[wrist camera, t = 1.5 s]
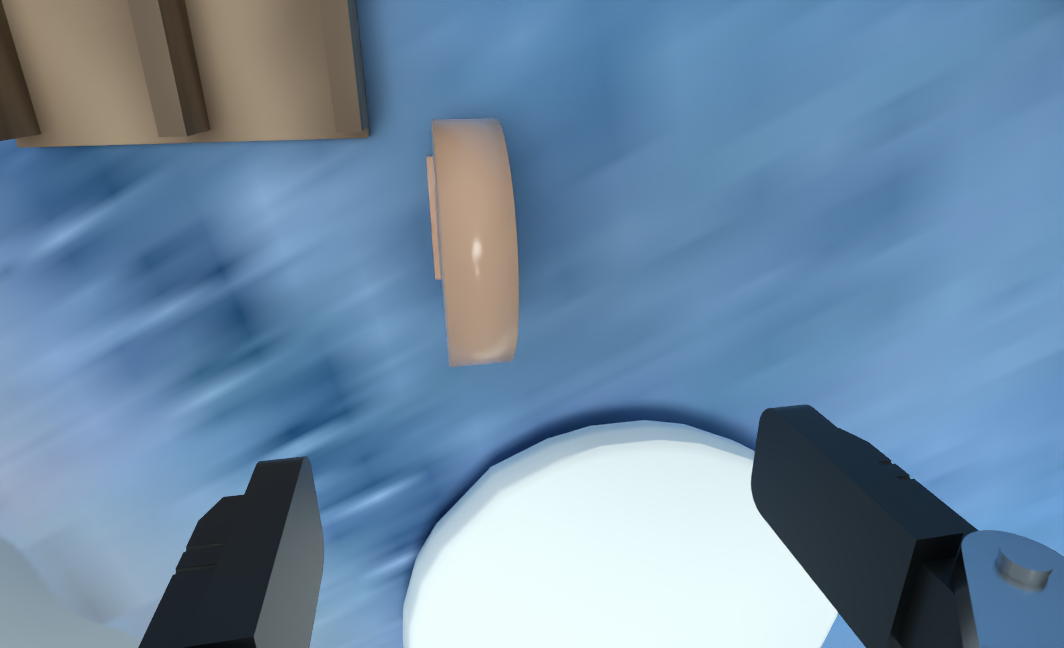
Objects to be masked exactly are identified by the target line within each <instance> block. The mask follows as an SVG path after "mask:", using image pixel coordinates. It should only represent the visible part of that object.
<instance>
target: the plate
mask: <svg viewBox="0 0 1064 648" xmlns="http://www.w3.org/2000/svg"><path fill="white" fill-rule="evenodd" d="M754 454H755V451H753V450H751V449H749V448H747V447H745V446H743V445H741V444H739V443H737V442H735V441H733V440H731V439H728V438H725V437H722V436H719V435H715V434H712V433H709V432H706V431H703V430H700V429H697V428H694V427H691V426H688V425H685V424H680V423H669V422H659V421H649V420H640V421H630V422H621V423H612V424H603V425H593V426H588V427H585V428H581V429H578V430H574V431H571V432H568V433H564V434H561V435H558V436H554V437H551V438H547V439H545V440H543V441H541V442H539V443H537V444H535V445H533V446H531V447H529V448H527V449H525V450H523V451H521V452H519V453H517V454H515V455H513V456H511V457H509V458H507V459H505V460H503V461H501V462H499V463H497V464H495V465H493V466H491V467H490V468H489V469H488V470H487V472H486V473H485V474H484V475H483V476H482V477H481V478H480V479H479V480H478V481H477V482H476V483H475V484H474V485H473V486H472V487H471V488H470V489H469V490H468V491H467V492H466V493H465V494H464V495H463V496H462V497H461V499H460V500H459V501H458V502H457V503H456V504H455V505H454V506H453V507H452V508H451V509H450V510H449V511H448V512H447V513H446V514H445V515H444V516H443V517H442V518H441V519H440V520H439V521H438V522H437V523H436V525H435V526H434V528H433V530H432V531H431V533H430V535H429V537H428V538H427V540H426V542H425V543H424V545H423V547H422V548H421V550H420V552H419V553H418V555H417V558H416V561H415V564H414V568H413V572H412V575H411V579H410V583H409V586H408V590H407V594H406V597H405V601H404V605H403V645H404V648H820V647H821V646H822V644H823V642H824V640H825V638H826V636H827V634H828V632H829V630H830V628H831V626H832V624H833V623H834V621H835V619H836V616H837V613H838V612H837V610H836V609H835V608H834V607H833V605H832V604H831V603H830V601H829V600H828V599H827V598H826V596H825V595H824V594H823V593H822V591H821V590H820V589H819V588H818V586H817V585H816V584H815V583H814V581H813V580H812V579H811V578H810V576H809V575H808V574H807V572H806V571H805V570H804V569H803V567H802V566H801V565H800V564H799V562H798V561H797V560H796V559H795V557H794V556H793V555H792V554H791V552H790V551H789V550H788V549H787V547H786V546H785V545H784V543H783V542H782V541H781V540H780V538H779V537H778V536H777V535H776V533H775V532H774V531H773V530H772V528H771V527H770V526H769V525H768V523H767V522H766V521H765V520H764V518H763V517H762V516H761V514H760V513H759V511H758V510H757V508H756V505H755V503H754V500H753V496H752V491H751V474H752V468H753V461H754Z"/></svg>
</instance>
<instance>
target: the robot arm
mask: <svg viewBox="0 0 1064 648" xmlns="http://www.w3.org/2000/svg"><path fill="white" fill-rule="evenodd" d="M751 491H752V496H753V500H754V503H755V505H756V508H757V510H758V511H759V513H760V514H761V516H762V517H763V518H764V520H765V521H766V522H767V523H768V525H769V526H770V527H771V528H772V530H773V531H774V532H775V533H776V535H777V536H778V537H779V538H780V540H781V541H782V542H783V543H784V545H785V546H786V547H787V549H788V550H789V551H790V552H791V554H792V555H793V556H794V557H795V559H796V560H797V561H798V562H799V564H800V565H801V566H802V567H803V569H804V570H805V571H806V572H807V574H808V575H809V576H810V578H811V579H812V580H813V581H814V583H815V584H816V585H817V586H818V588H819V589H820V590H821V591H822V593H823V594H824V595H825V596H826V598H827V599H828V600H829V601H830V603H831V604H832V605H833V607H834V608H835V609H836V610H837V612H838V613H839V614H840V615H841V617H842V618H843V619H844V620H845V622H846V623H847V624H848V625H849V627H850V628H851V629H852V630H853V632H854V633H855V634H856V636H857V637H858V638H859V639H860V641H861V642H862V643H863V644H864V646H865V647H866V648H1064V556H1062V555H1060V554H1059V553H1057V552H1056V551H1054V550H1052V549H1050V548H1049V547H1047V546H1045V545H1043V544H1041V543H1038V542H1036V541H1034V540H1031V539H1028V538H1026V537H1023V536H1020V535H1016V534H1013V533H1008V532H1003V531H995V530H983V531H978V530H977V529H976V528H974V527H973V526H972V525H971V524H970V523H968V522H967V521H966V520H965V519H963V518H962V517H961V516H960V515H958V514H957V513H956V512H955V511H953V510H952V509H951V508H950V507H948V506H947V505H946V504H945V503H943V502H942V501H941V500H940V499H938V498H937V497H936V496H935V495H934V494H932V493H931V492H930V491H929V490H927V489H926V488H925V487H924V486H922V485H921V484H920V483H919V482H917V481H916V480H915V479H910V477H909V474H907V473H906V472H905V471H904V470H902V469H901V468H900V467H899V466H898V465H896V464H892V463H891V460H890V459H889V458H888V457H886V456H885V455H884V454H883V453H881V452H880V451H879V450H878V449H876V448H875V447H874V446H873V445H871V444H870V443H869V442H867V441H865V440H863V439H861V438H859V437H857V436H855V435H853V434H851V433H849V432H846V431H844V430H842V429H840V428H837V427H836V426H835V425H834V424H832V423H831V422H830V421H829V420H827V419H826V418H825V417H824V416H823V415H821V414H820V413H819V412H818V411H817V410H815V409H814V408H813V407H811V406H809V405H796V406H787V407H777V408H769V409H766V410H765V411H764V412H763V413H762V415H761V417H760V421H759V427H758V434H757V441H756V448H755V454H754V461H753V468H752V474H751ZM323 564H324V542H323V532H322V526H321V520H320V514H319V508H318V502H317V496H316V491H315V485H314V479H313V473H312V468H311V464H310V461H309V458H308V457H306V456H305V457H296V458H286V459H277V460H267V461H259V462H258V463H257V465H256V467H255V469H254V472H253V474H252V477H251V479H250V482H249V484H248V487H247V489H246V492H245V494H244V495H237V496H228V497H223V498H222V499H221V500H220V501H219V502H218V503H217V504H216V505H215V506H213V507H212V508H211V509H210V510H209V511H208V512H207V513H206V514H205V515H204V516H203V517H202V518H201V519H200V520H199V521H198V523H197V525H196V527H195V529H194V532H193V534H192V536H191V538H190V540H189V542H188V544H187V546H186V552H184V553H183V555H182V557H181V559H180V561H179V563H178V565H177V567H176V574H175V575H173V576H172V578H171V580H170V582H169V584H168V586H167V588H166V591H165V593H164V595H163V597H162V599H161V601H160V603H159V605H158V607H157V609H156V612H155V614H154V616H153V618H152V620H151V622H150V624H149V626H148V628H147V631H146V633H145V635H144V637H143V639H142V641H141V643H140V646H139V648H309V646H310V641H311V635H312V630H313V624H314V618H315V613H316V607H317V601H318V596H319V590H320V584H321V579H322V573H323Z"/></svg>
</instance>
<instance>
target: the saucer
mask: <svg viewBox="0 0 1064 648" xmlns="http://www.w3.org/2000/svg"><path fill="white" fill-rule="evenodd" d="M431 143H432V155H429V156H426V161H427V174H428V188H429V201H430V215H431V228H432V242H433V256H434V269H435V279H441V289H442V301H443V313H444V324H445V334H446V344H447V353H448V362H449V367H458V366H470V365H481V364H493V363H505V362H512V360H513V358H514V355H515V351H516V345H517V336H518V319H519V269H518V246H517V230H516V217H515V205H514V196H513V186H512V179H511V171H510V164H509V158H508V152H507V147H506V142H505V138H504V134H503V130H502V127H501V124H500V122H499V120H498V119H497V118H469V119H431Z"/></svg>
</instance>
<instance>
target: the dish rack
mask: <svg viewBox="0 0 1064 648" xmlns="http://www.w3.org/2000/svg"><path fill="white" fill-rule="evenodd" d="M369 136H370V131H369V121H368V112H367V102H366V93H365V83H364V74H363V65H362V55H361V46H360V36H359V27H358V17H357V8H356V0H0V141H3V140H9V139H16V142H17V146H18V148H20V147H56V146H91V145H127V144H163V143H199V142H235V141H270V140H306V139H342V138H368V137H369Z"/></svg>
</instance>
